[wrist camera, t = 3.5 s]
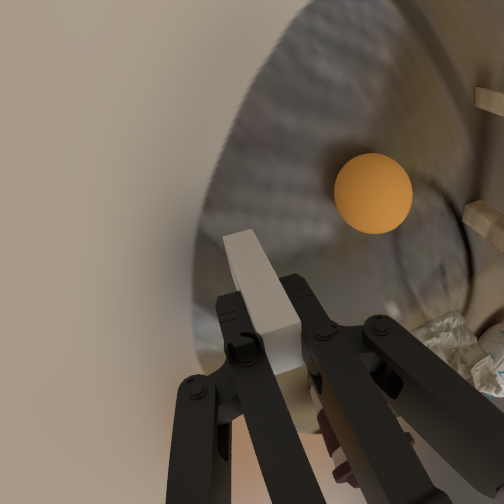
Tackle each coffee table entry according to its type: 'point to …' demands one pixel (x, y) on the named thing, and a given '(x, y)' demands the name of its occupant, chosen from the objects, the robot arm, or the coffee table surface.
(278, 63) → the coffee table surface
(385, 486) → the robot arm
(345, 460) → the coffee cup
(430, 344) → the ceramic cottage
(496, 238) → the bridge
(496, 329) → the puzzle ball
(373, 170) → the ball
